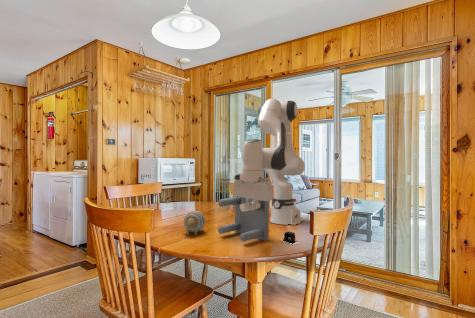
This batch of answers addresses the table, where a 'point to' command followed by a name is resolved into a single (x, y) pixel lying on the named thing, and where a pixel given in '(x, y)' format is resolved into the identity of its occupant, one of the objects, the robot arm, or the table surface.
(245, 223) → the stool
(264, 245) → the table surface
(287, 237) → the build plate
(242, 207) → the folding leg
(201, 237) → the table surface
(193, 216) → the toy sheep
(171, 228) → the table surface
